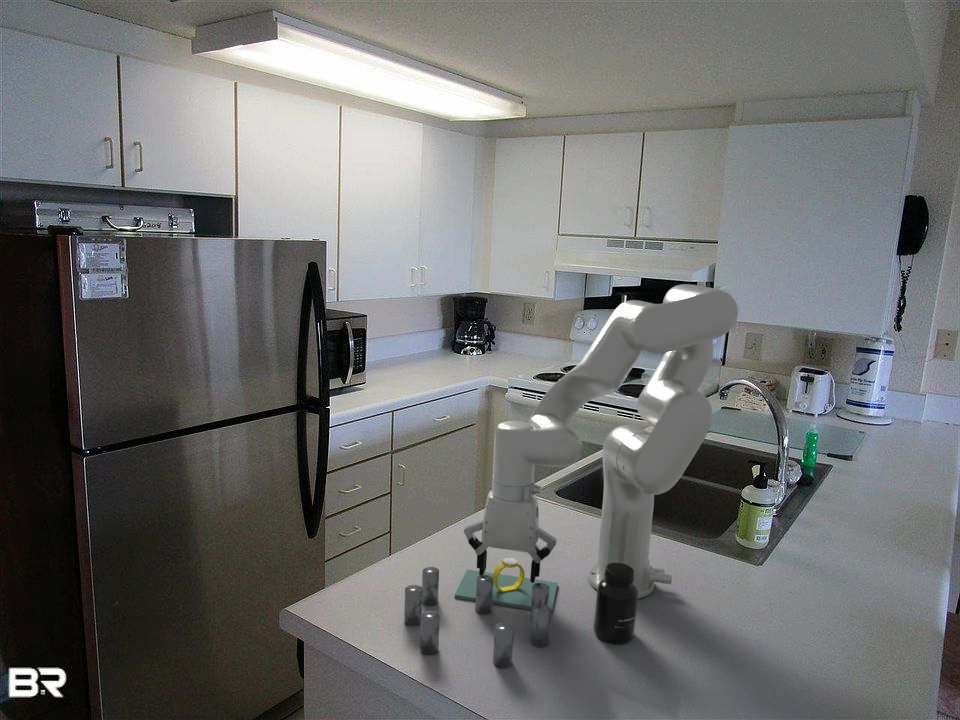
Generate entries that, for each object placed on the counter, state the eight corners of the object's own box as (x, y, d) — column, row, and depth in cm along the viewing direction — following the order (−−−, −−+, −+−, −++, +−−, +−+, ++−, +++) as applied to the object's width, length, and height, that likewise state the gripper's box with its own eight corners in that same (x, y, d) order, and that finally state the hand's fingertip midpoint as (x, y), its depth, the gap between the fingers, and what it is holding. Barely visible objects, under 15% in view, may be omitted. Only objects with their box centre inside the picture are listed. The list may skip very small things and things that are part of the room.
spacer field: (553, 616, 121) (556, 585, 120) (542, 675, 105) (544, 639, 104) (419, 595, 126) (420, 565, 125) (387, 648, 110) (388, 614, 109)
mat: (557, 585, 132) (557, 582, 132) (551, 612, 122) (551, 609, 122) (466, 572, 135) (467, 569, 135) (454, 597, 126) (454, 594, 126)
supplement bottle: (625, 650, 112) (631, 583, 110) (587, 636, 116) (592, 570, 113) (639, 631, 118) (645, 566, 116) (602, 618, 121) (607, 555, 119)
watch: (518, 585, 131) (521, 556, 130) (524, 592, 128) (528, 562, 127) (489, 588, 128) (493, 558, 127) (495, 595, 126) (499, 565, 125)
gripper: (561, 487, 126) (555, 572, 130) (470, 476, 130) (467, 560, 133) (557, 502, 119) (551, 592, 122) (461, 490, 123) (458, 578, 126)
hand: (507, 575), depth 128 cm, fingers open, 9 cm apart
